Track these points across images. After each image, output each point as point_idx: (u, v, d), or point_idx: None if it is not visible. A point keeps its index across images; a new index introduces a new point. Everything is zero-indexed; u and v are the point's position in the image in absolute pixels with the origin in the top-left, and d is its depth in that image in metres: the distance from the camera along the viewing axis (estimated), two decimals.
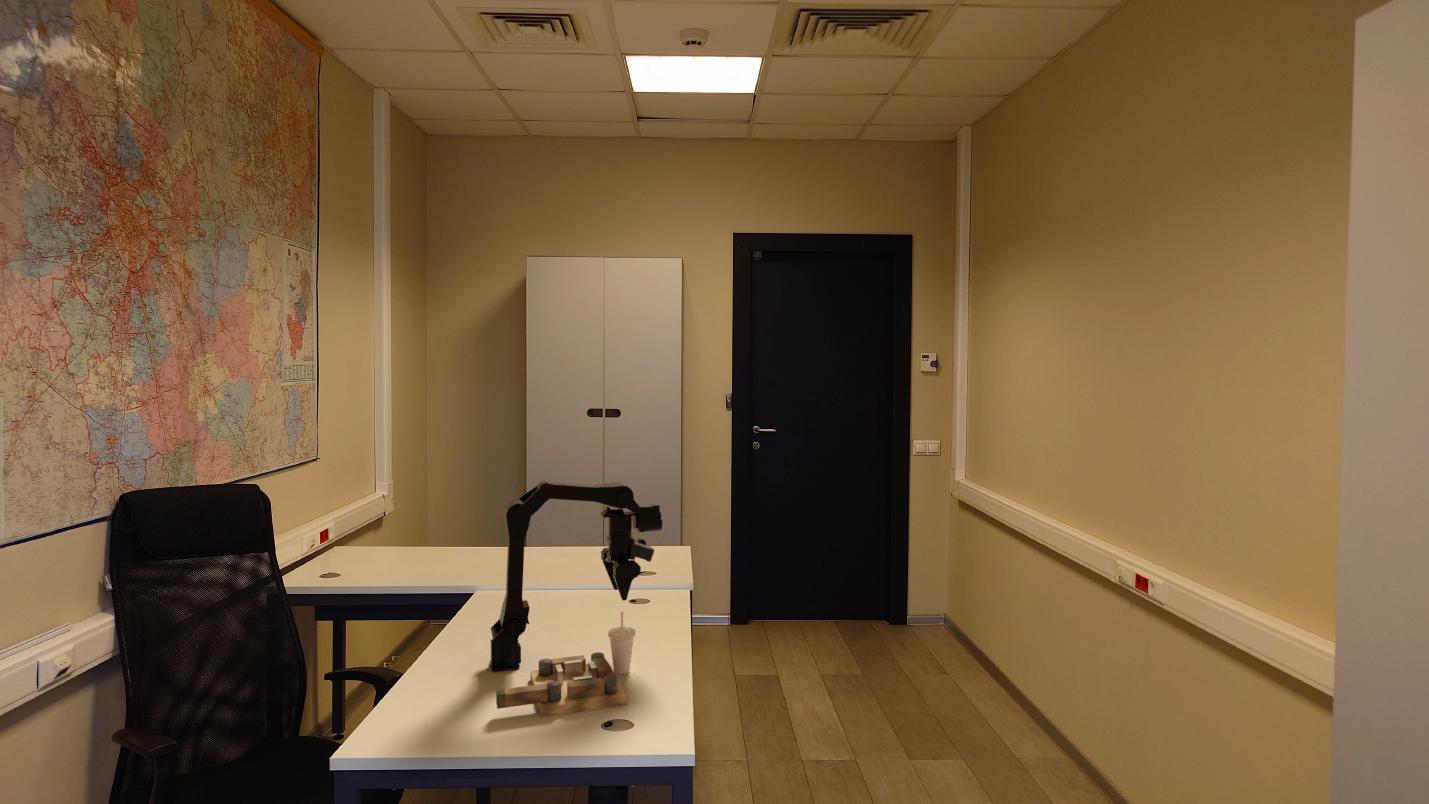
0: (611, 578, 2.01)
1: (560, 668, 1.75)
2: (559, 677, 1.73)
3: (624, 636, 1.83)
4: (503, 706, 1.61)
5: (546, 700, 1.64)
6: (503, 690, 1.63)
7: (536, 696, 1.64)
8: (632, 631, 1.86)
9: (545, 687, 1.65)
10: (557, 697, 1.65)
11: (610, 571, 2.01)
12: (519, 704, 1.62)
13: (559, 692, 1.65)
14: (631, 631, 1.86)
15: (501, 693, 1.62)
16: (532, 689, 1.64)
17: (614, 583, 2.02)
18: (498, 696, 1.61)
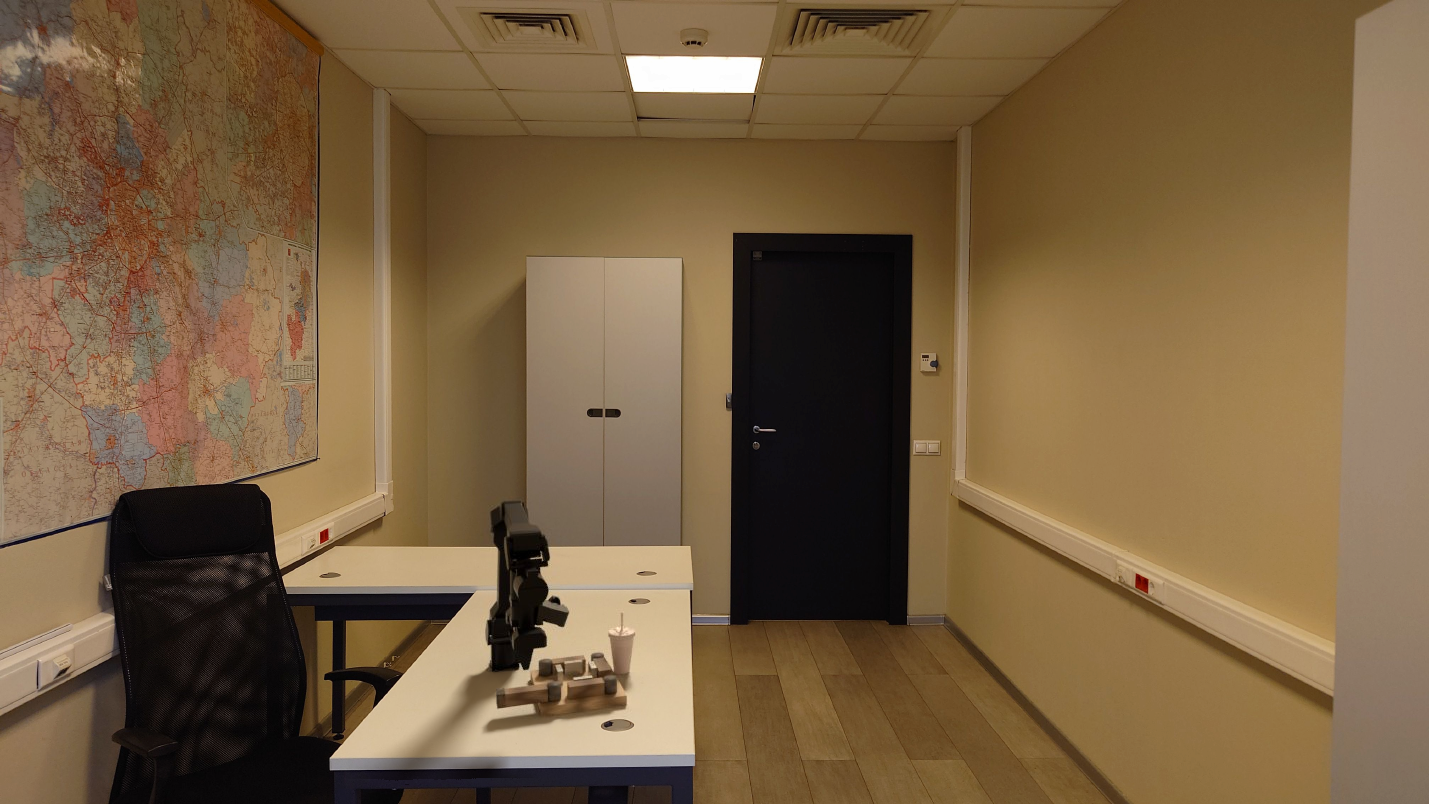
0: None
1: (560, 668, 1.75)
2: (559, 677, 1.73)
3: (624, 636, 1.83)
4: (503, 706, 1.61)
5: (546, 700, 1.64)
6: (503, 690, 1.63)
7: (536, 696, 1.64)
8: (632, 631, 1.86)
9: (545, 687, 1.65)
10: (557, 697, 1.65)
11: None
12: (519, 704, 1.62)
13: (559, 692, 1.65)
14: (631, 631, 1.86)
15: (501, 693, 1.62)
16: (532, 689, 1.64)
17: None
18: (498, 696, 1.61)
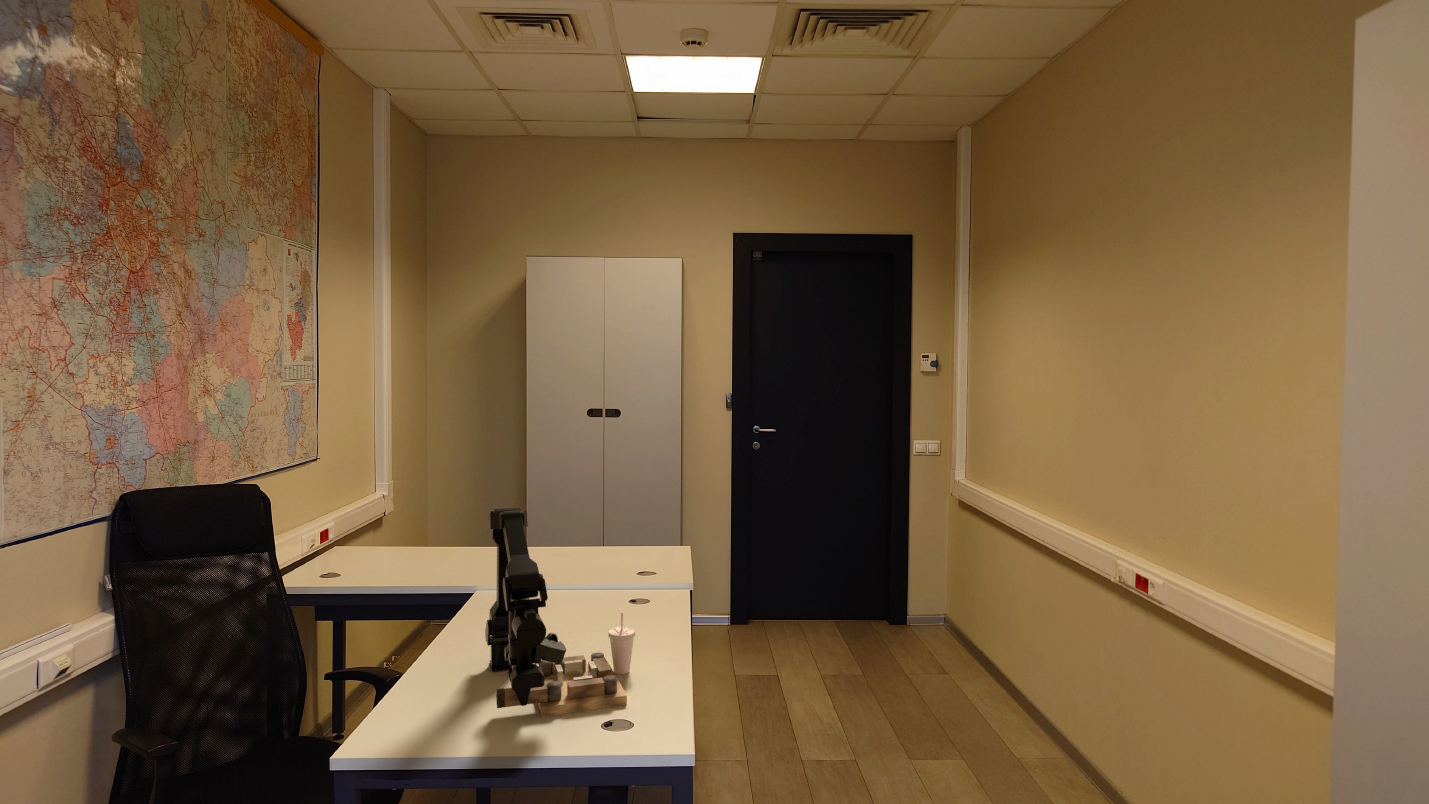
0: None
1: (560, 668, 1.75)
2: (559, 677, 1.73)
3: (624, 636, 1.83)
4: (503, 706, 1.62)
5: (546, 700, 1.64)
6: (503, 690, 1.63)
7: (536, 696, 1.64)
8: (632, 631, 1.86)
9: (545, 687, 1.65)
10: (557, 697, 1.65)
11: None
12: (519, 704, 1.63)
13: (559, 693, 1.65)
14: (631, 631, 1.86)
15: (501, 693, 1.62)
16: (531, 689, 1.64)
17: None
18: (498, 695, 1.61)
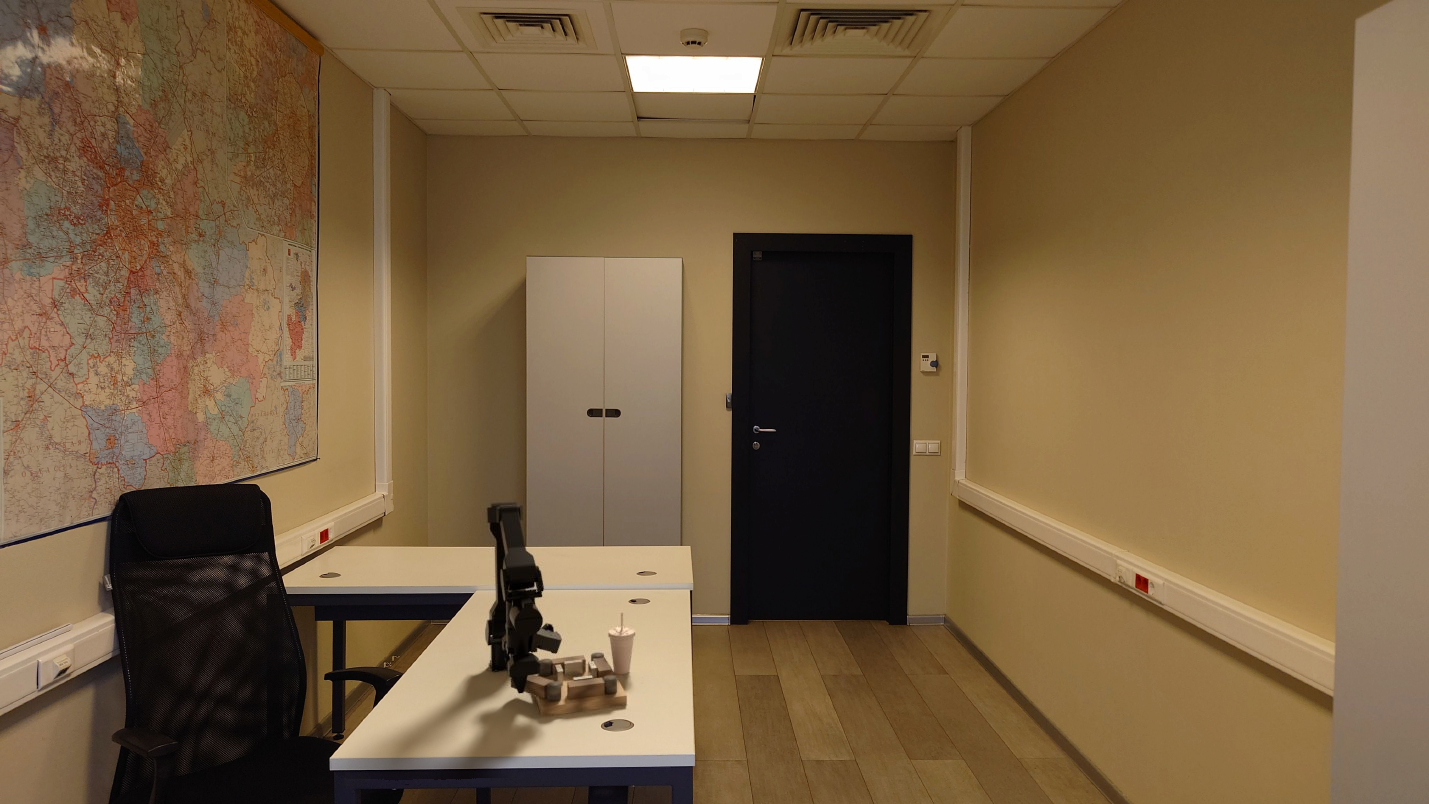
0: None
1: (560, 668, 1.75)
2: (559, 677, 1.73)
3: (624, 636, 1.83)
4: (514, 687, 1.71)
5: (543, 696, 1.66)
6: None
7: (536, 689, 1.67)
8: (632, 631, 1.86)
9: (545, 684, 1.67)
10: (551, 698, 1.65)
11: None
12: (525, 690, 1.69)
13: (553, 694, 1.65)
14: (631, 631, 1.86)
15: None
16: (535, 681, 1.68)
17: None
18: None
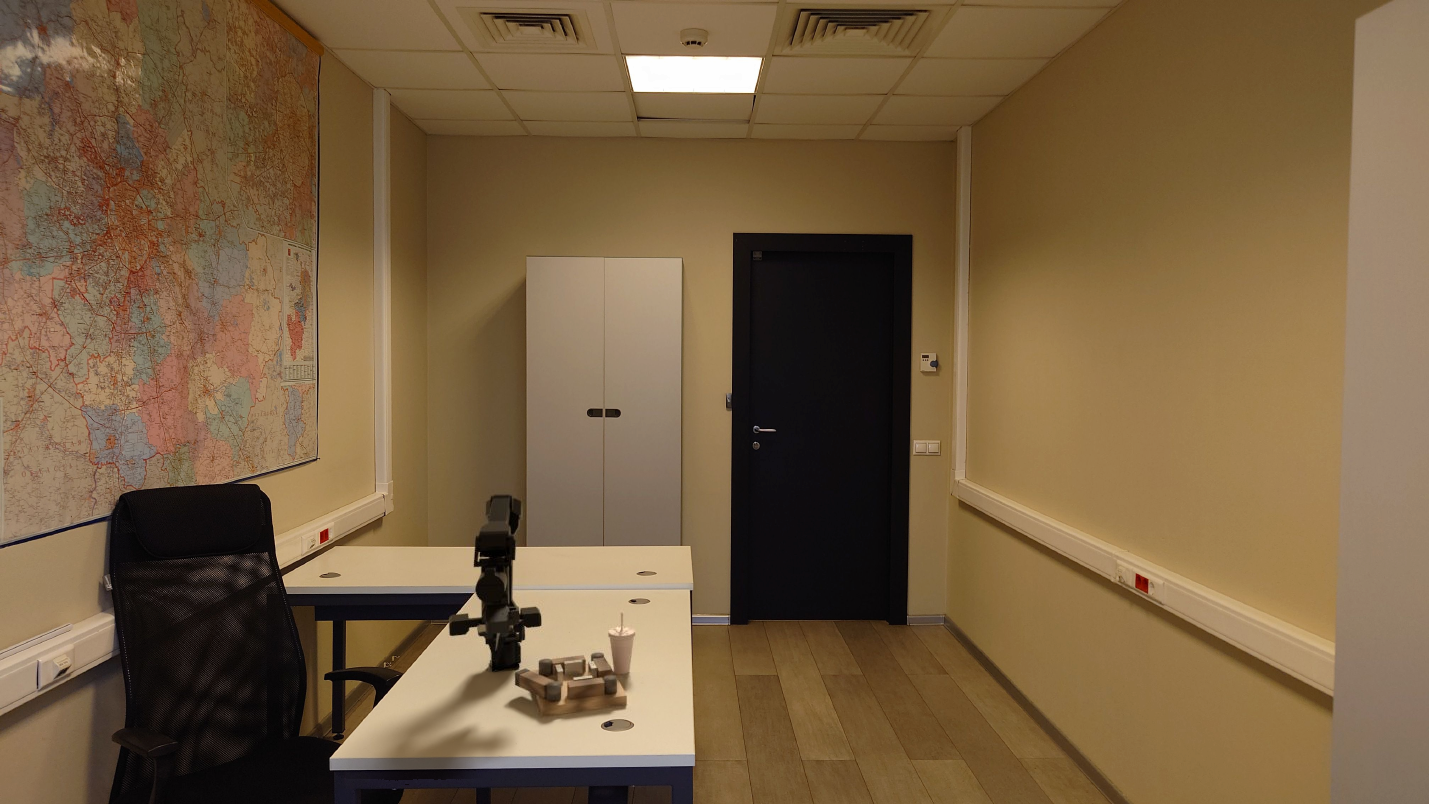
0: (496, 644, 1.69)
1: (560, 668, 1.75)
2: (559, 677, 1.73)
3: (624, 636, 1.83)
4: (518, 685, 1.72)
5: (543, 696, 1.66)
6: (525, 671, 1.73)
7: (537, 688, 1.67)
8: (632, 631, 1.86)
9: (545, 683, 1.67)
10: (550, 698, 1.65)
11: (497, 635, 1.69)
12: (527, 689, 1.70)
13: (552, 694, 1.65)
14: (631, 631, 1.86)
15: (519, 672, 1.72)
16: (537, 680, 1.68)
17: None
18: (515, 673, 1.72)
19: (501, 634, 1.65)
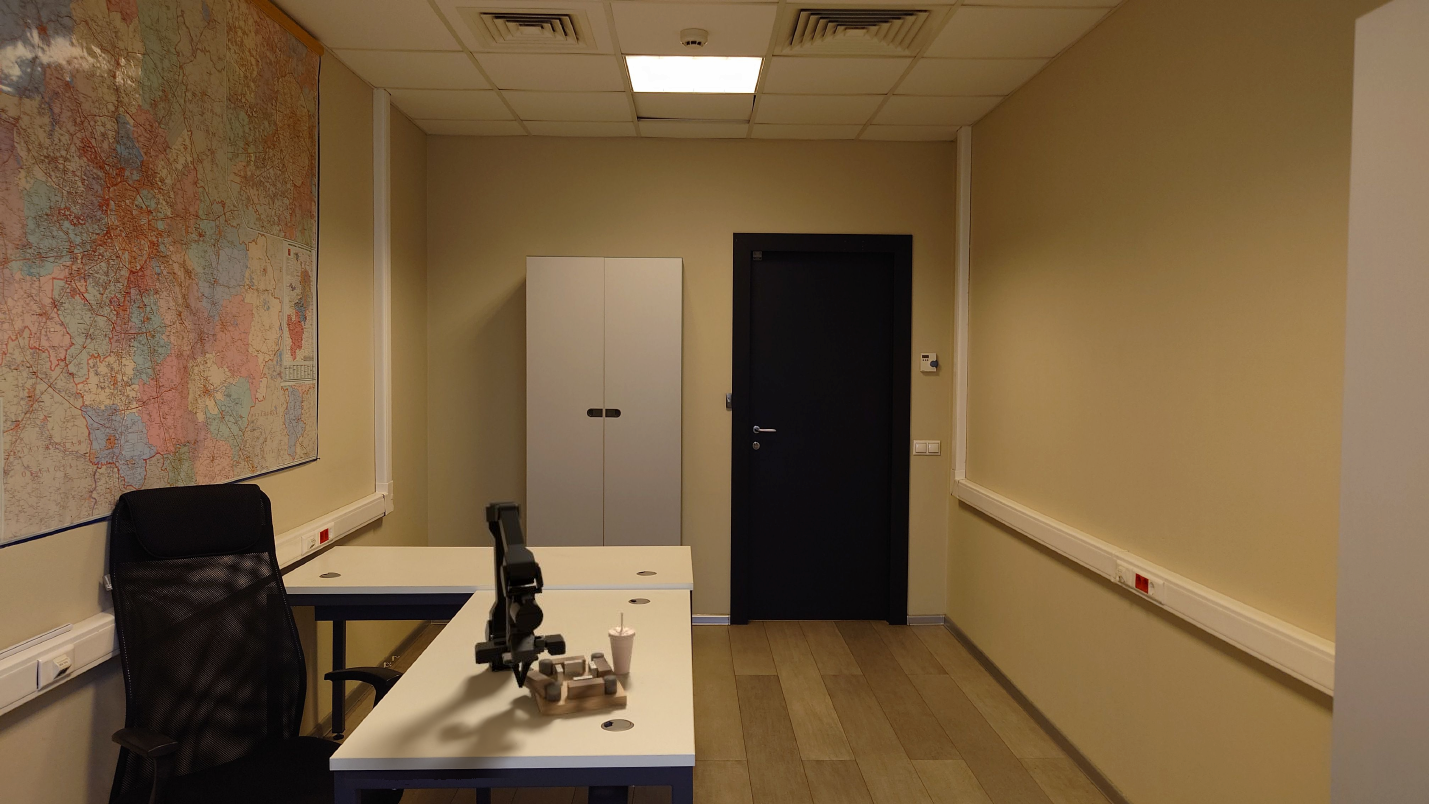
0: None
1: (560, 668, 1.75)
2: (559, 677, 1.73)
3: (624, 636, 1.83)
4: None
5: (543, 695, 1.66)
6: (529, 670, 1.74)
7: (538, 687, 1.68)
8: (632, 631, 1.86)
9: (546, 683, 1.67)
10: (549, 697, 1.65)
11: None
12: (529, 688, 1.70)
13: (551, 694, 1.65)
14: (631, 631, 1.86)
15: None
16: (539, 679, 1.69)
17: (520, 678, 1.70)
18: None
19: (526, 662, 1.67)
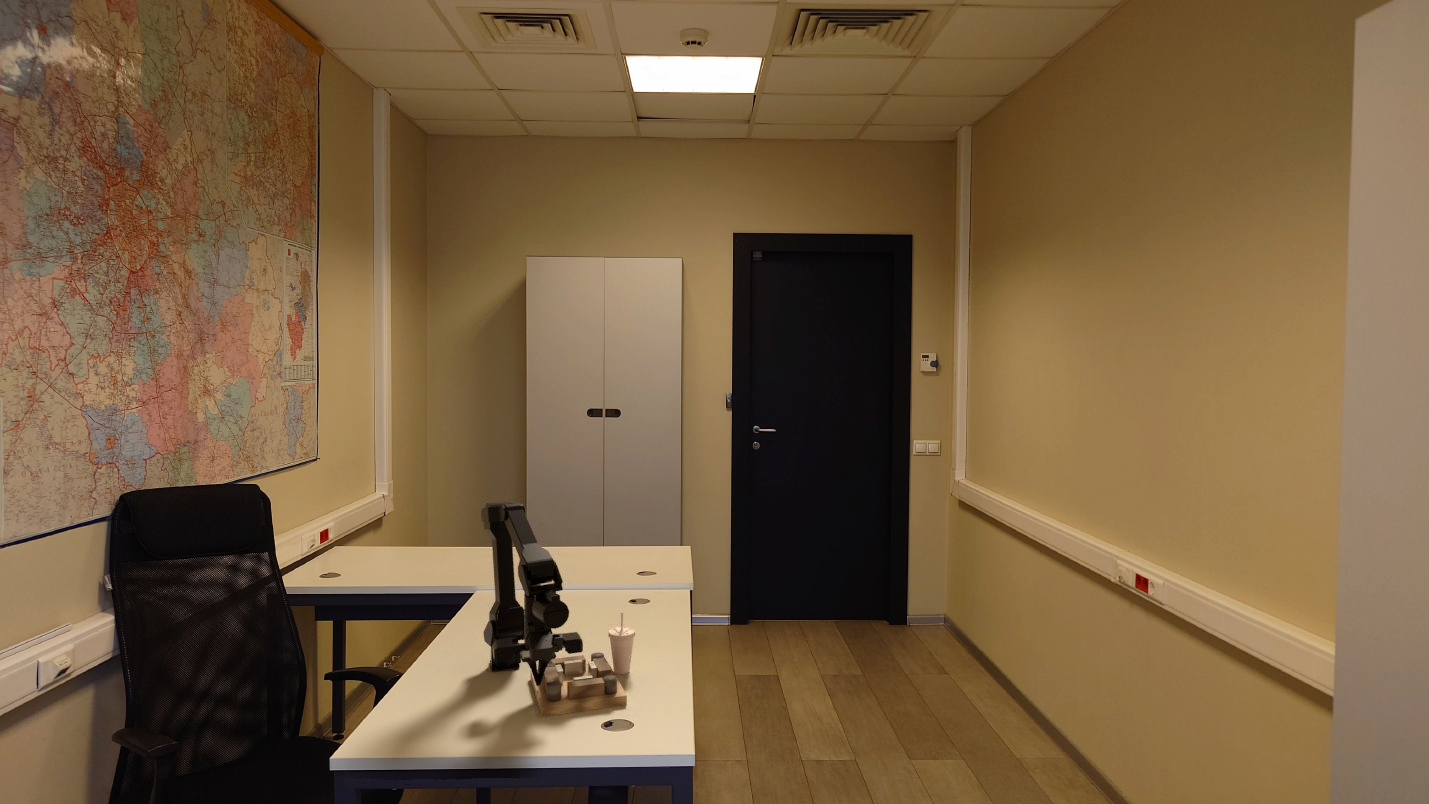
0: (538, 669, 1.72)
1: (560, 668, 1.75)
2: (559, 677, 1.73)
3: (624, 636, 1.83)
4: None
5: (546, 693, 1.67)
6: (551, 666, 1.76)
7: (545, 684, 1.69)
8: (632, 631, 1.86)
9: (550, 681, 1.68)
10: (547, 697, 1.65)
11: (539, 660, 1.72)
12: (544, 683, 1.73)
13: (548, 693, 1.65)
14: (631, 631, 1.86)
15: None
16: (548, 676, 1.70)
17: None
18: None
19: (544, 660, 1.69)
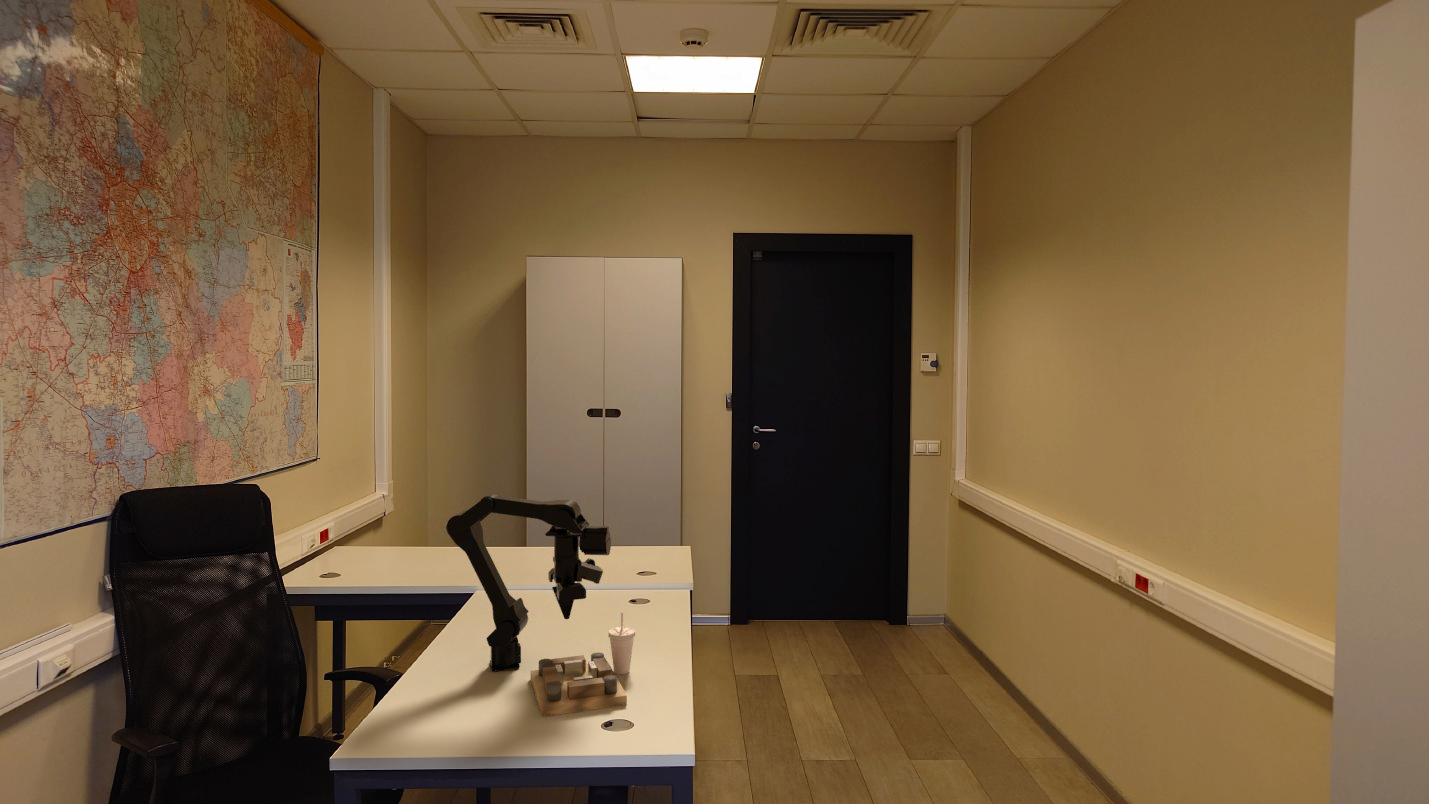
0: None
1: (560, 668, 1.75)
2: (559, 677, 1.73)
3: (624, 636, 1.83)
4: (542, 677, 1.76)
5: (546, 693, 1.67)
6: (551, 666, 1.76)
7: (545, 684, 1.69)
8: (632, 631, 1.86)
9: (550, 681, 1.68)
10: (547, 697, 1.65)
11: None
12: (544, 683, 1.73)
13: (548, 693, 1.65)
14: (631, 631, 1.86)
15: (544, 665, 1.76)
16: (548, 676, 1.70)
17: None
18: (542, 666, 1.77)
19: None
